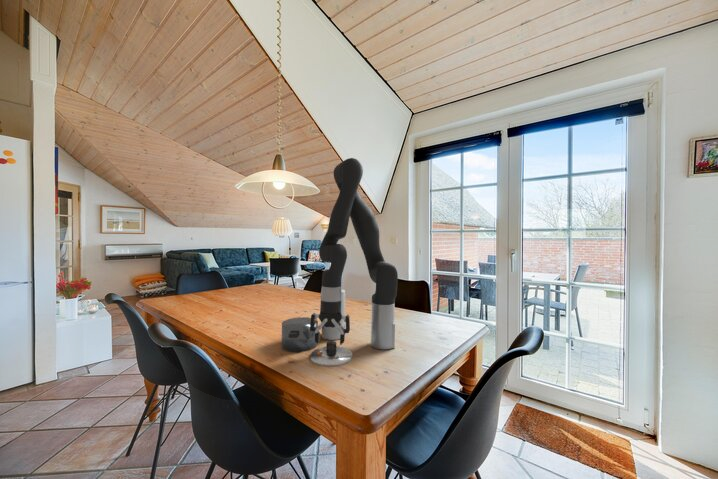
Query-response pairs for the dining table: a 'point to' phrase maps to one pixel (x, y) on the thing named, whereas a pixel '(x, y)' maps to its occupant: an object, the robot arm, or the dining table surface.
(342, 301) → the container
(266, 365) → the dining table surface
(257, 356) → the dining table surface
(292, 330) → the dark grey rounded piece
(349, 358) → the lid
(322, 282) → the robot arm
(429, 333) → the dining table surface
